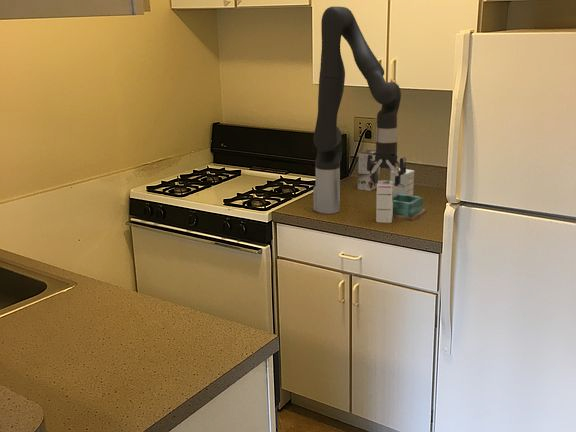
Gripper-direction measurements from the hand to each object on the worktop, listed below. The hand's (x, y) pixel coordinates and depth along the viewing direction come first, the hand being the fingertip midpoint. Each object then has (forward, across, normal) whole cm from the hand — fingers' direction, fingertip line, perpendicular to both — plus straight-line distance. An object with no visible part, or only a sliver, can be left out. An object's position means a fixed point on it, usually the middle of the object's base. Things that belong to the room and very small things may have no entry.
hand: (386, 184), depth 231 cm
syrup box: (+14, 0, 0) cm, 14 cm away
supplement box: (+14, -5, +27) cm, 31 cm away
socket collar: (+14, +3, +11) cm, 18 cm away
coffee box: (+14, -25, +38) cm, 48 cm away
